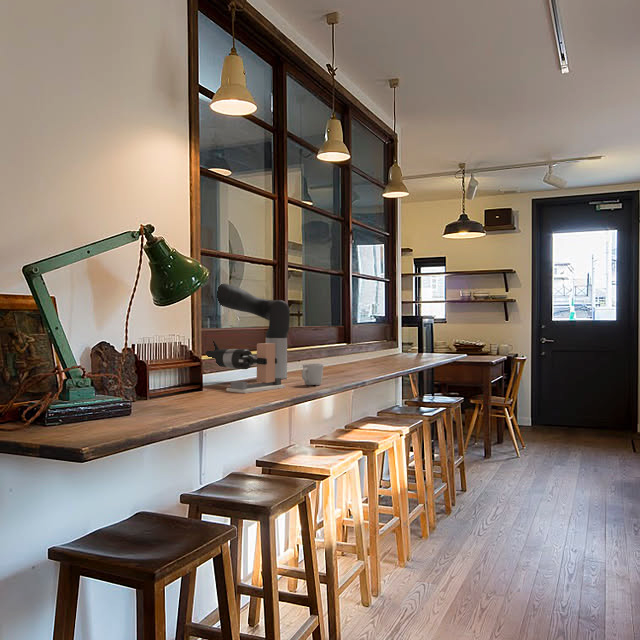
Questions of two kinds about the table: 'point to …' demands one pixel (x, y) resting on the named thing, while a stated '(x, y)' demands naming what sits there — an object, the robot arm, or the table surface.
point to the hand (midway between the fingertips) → (271, 361)
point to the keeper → (267, 371)
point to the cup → (312, 374)
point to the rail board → (254, 386)
